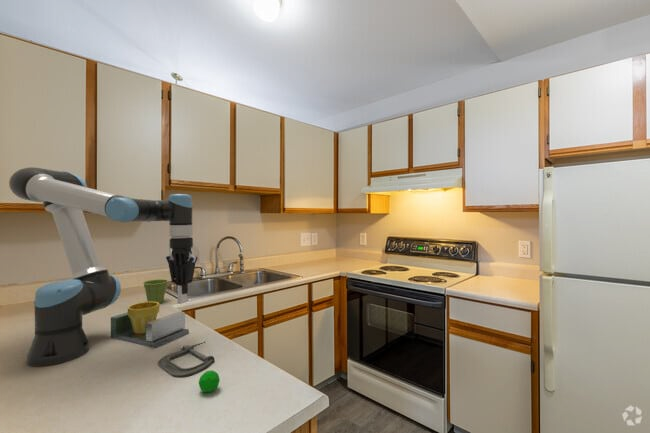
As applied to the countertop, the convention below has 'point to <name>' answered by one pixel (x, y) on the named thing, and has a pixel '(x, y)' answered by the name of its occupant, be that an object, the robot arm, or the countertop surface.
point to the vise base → (124, 331)
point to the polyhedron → (209, 381)
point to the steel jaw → (165, 326)
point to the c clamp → (182, 372)
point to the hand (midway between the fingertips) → (182, 302)
